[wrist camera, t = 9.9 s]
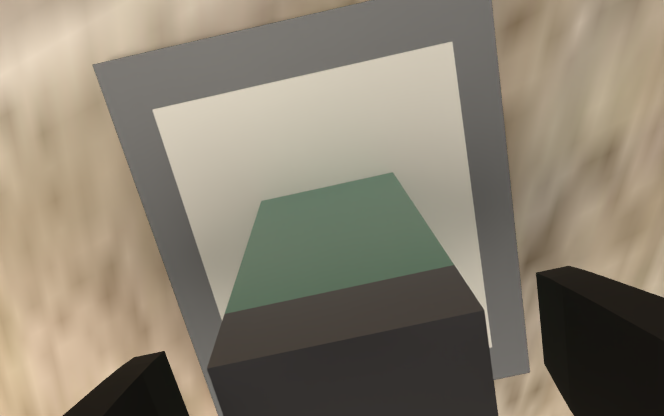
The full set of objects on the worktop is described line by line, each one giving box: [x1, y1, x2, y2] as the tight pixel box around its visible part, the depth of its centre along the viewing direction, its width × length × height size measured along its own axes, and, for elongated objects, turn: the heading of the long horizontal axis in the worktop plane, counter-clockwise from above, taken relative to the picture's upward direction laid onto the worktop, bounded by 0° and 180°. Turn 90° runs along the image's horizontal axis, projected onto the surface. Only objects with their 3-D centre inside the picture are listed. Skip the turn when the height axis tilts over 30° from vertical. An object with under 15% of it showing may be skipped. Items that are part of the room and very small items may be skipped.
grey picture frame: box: [93, 0, 530, 416], centre depth 16 cm, size 11×13×1 cm
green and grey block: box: [207, 172, 498, 416], centre depth 11 cm, size 4×4×8 cm
